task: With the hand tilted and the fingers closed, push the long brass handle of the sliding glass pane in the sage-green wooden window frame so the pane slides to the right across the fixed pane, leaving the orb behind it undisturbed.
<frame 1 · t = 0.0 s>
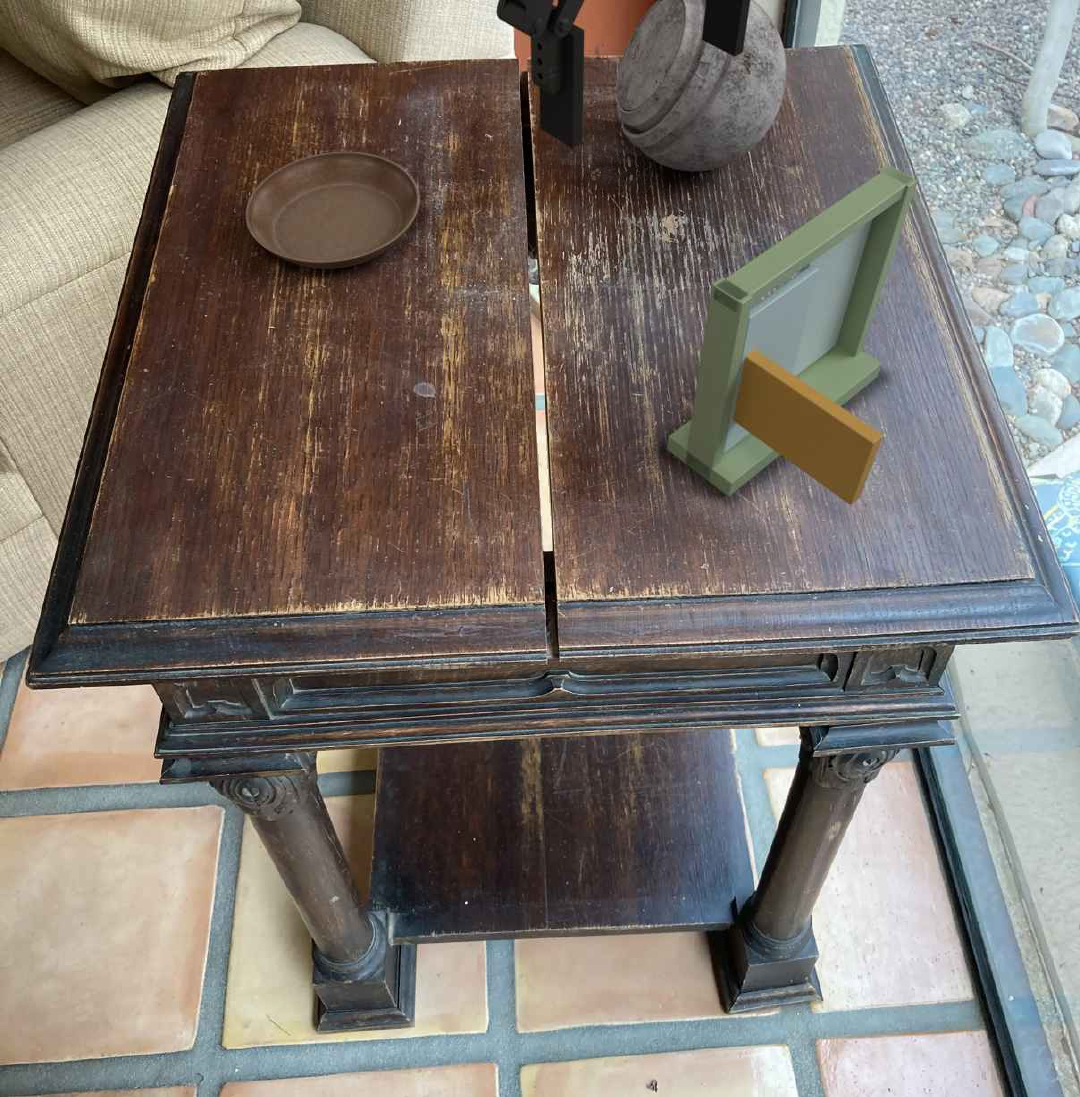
hand: (644, 89, 62), 23 cm above the table, tool pointing down, fingers open, 13 cm apart
saucer: (338, 231, 91), on the table
window frame: (774, 412, 78), on the table
window pane: (824, 404, 68), point 8 cm above the table, slide at 0.0 cm
decorative orb: (691, 157, 97), on the table
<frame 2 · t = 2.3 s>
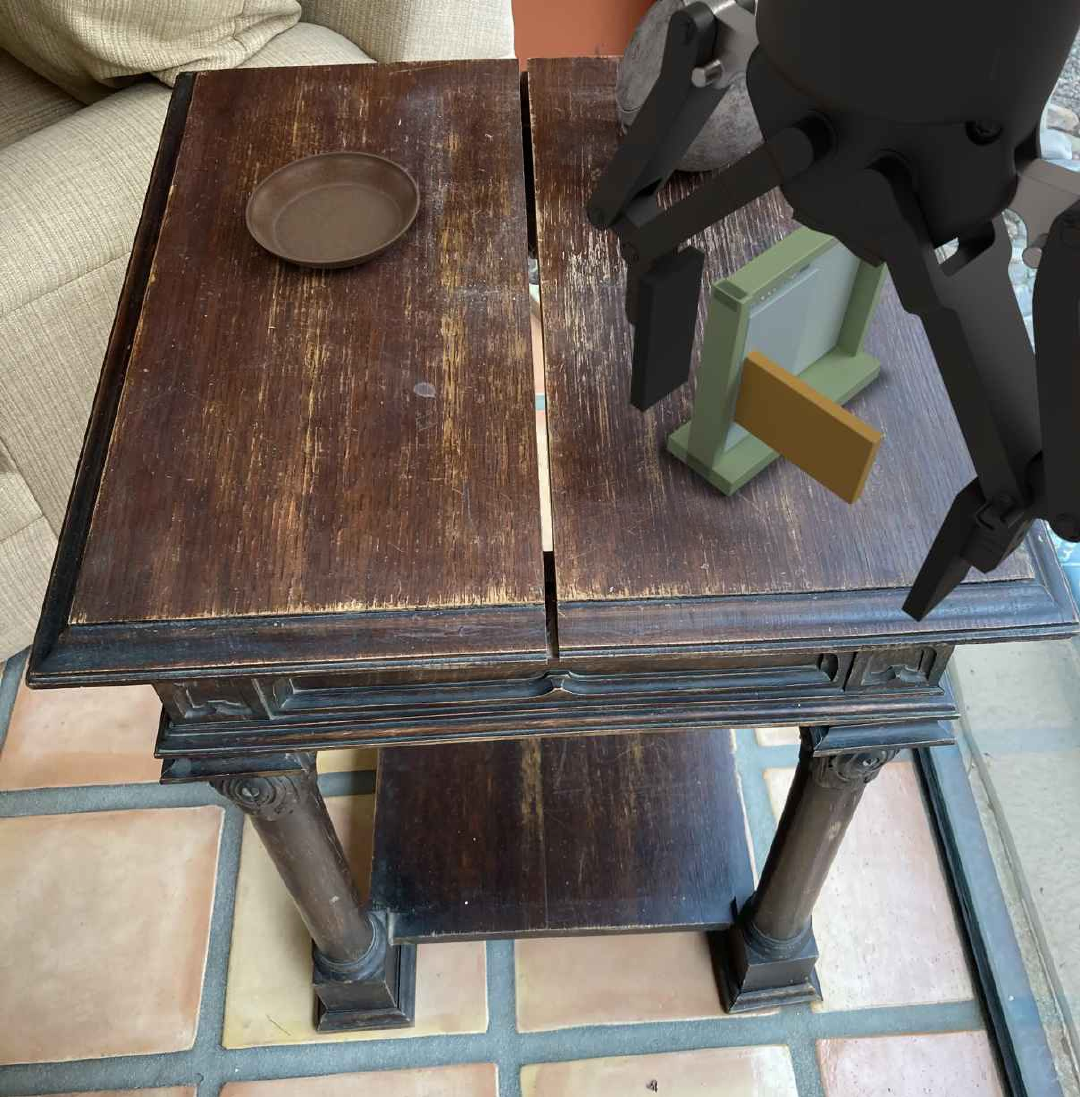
hand: (785, 486, 40), 26 cm above the table, tool pointing down, fingers open, 13 cm apart
nothing on the table moved.
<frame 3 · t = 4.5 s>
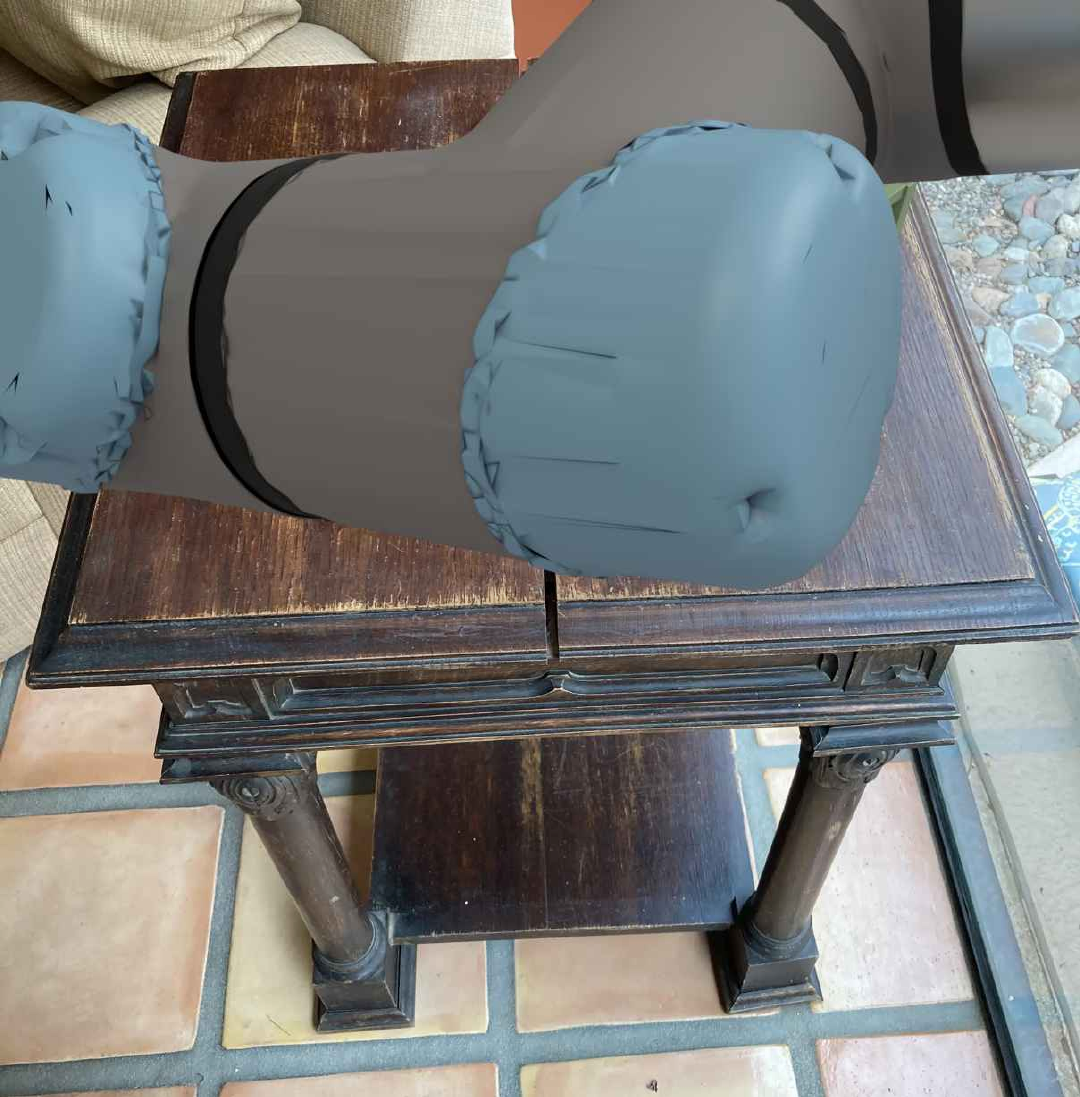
hand: (727, 461, 53), 17 cm above the table, tool tilted 45°, fingers closed
nothing on the table moved.
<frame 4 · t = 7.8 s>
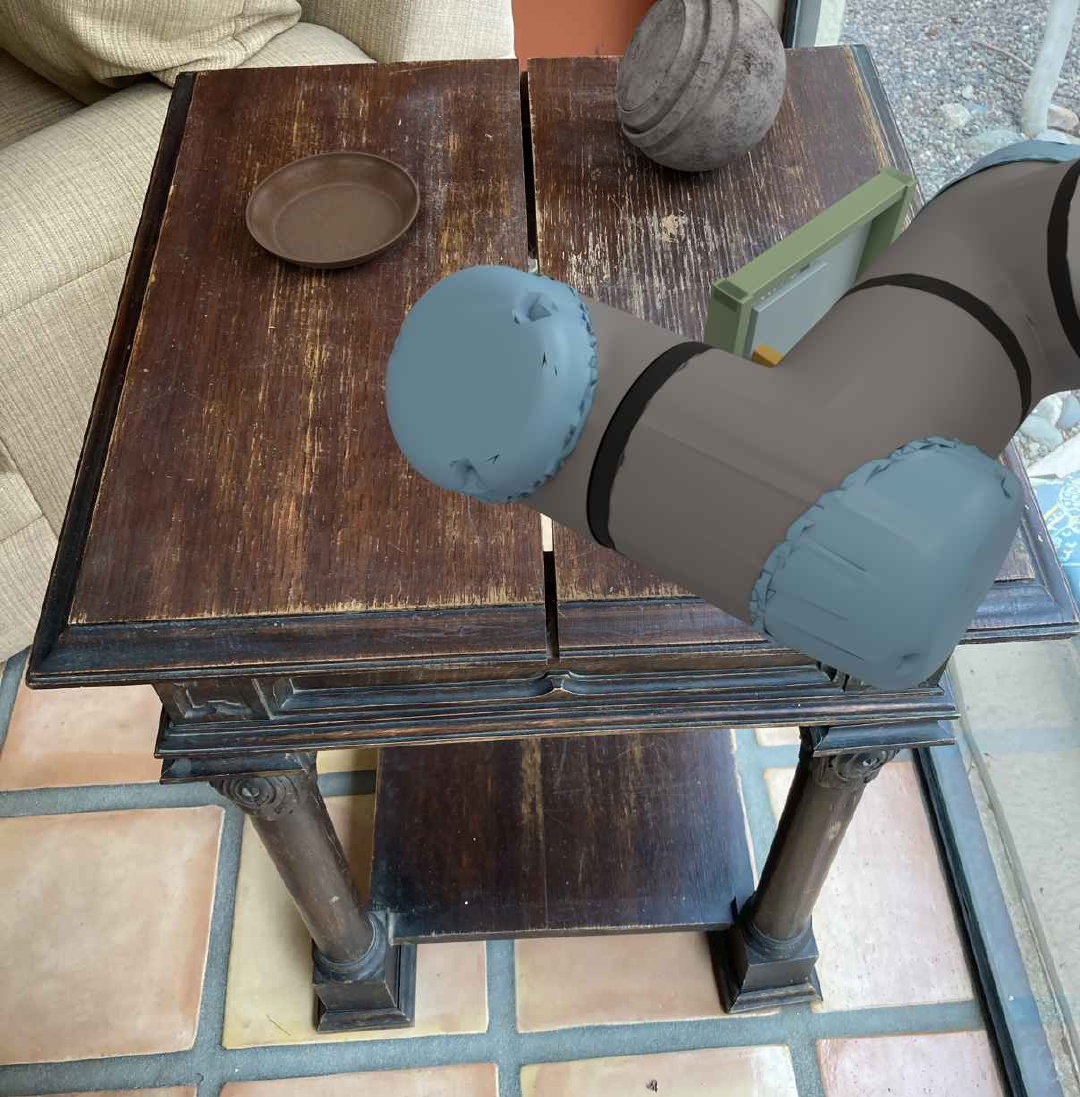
hand: (827, 469, 66), 7 cm above the table, tool tilted 45°, fingers closed
window pane: (832, 398, 68), point 8 cm above the table, slide at 0.8 cm, touching gripper
everything else where it was.
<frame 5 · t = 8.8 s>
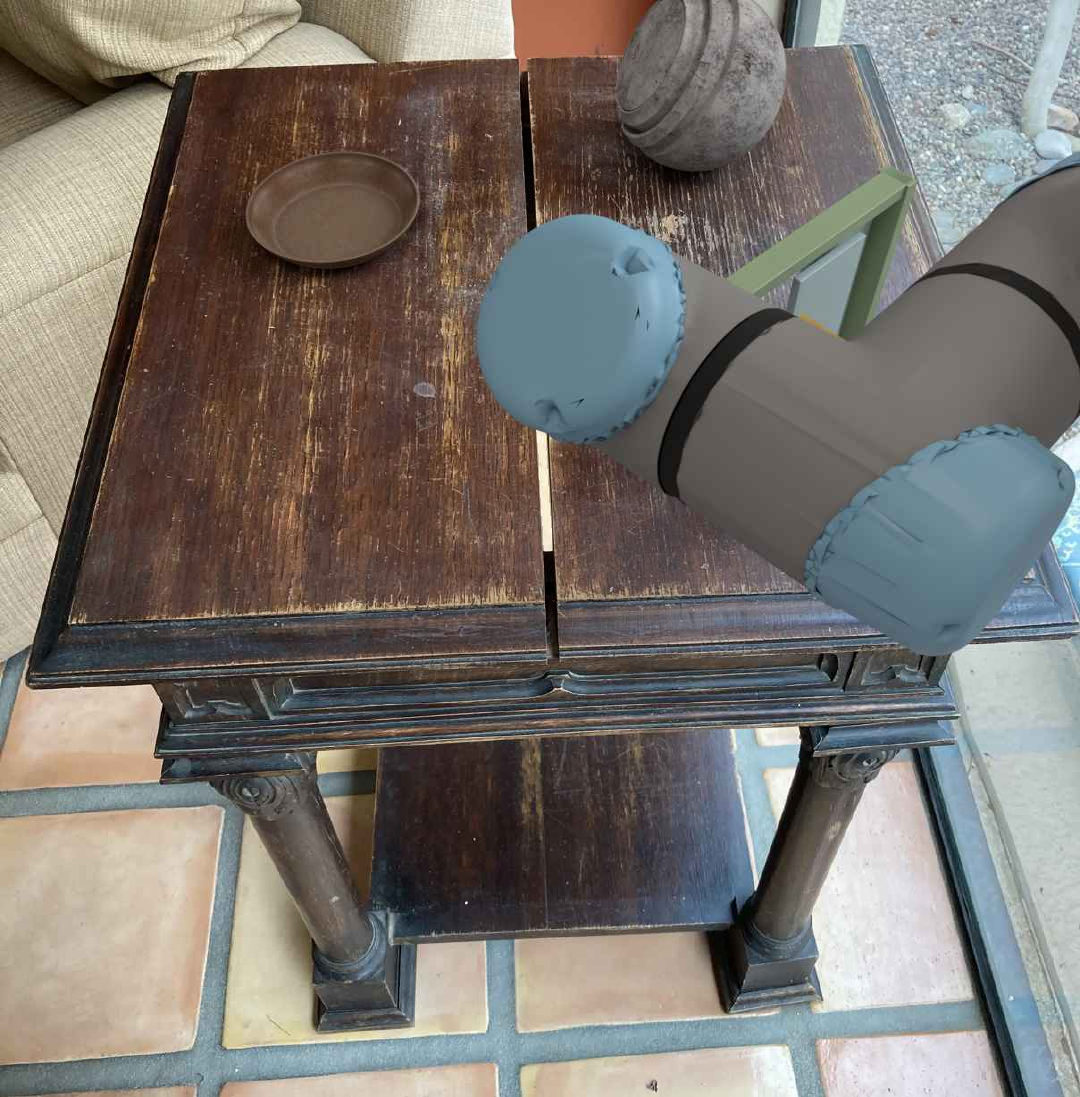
hand: (866, 438, 67), 7 cm above the table, tool tilted 45°, fingers closed
window pane: (870, 368, 69), point 8 cm above the table, slide at 4.8 cm, touching gripper
everything else where it was.
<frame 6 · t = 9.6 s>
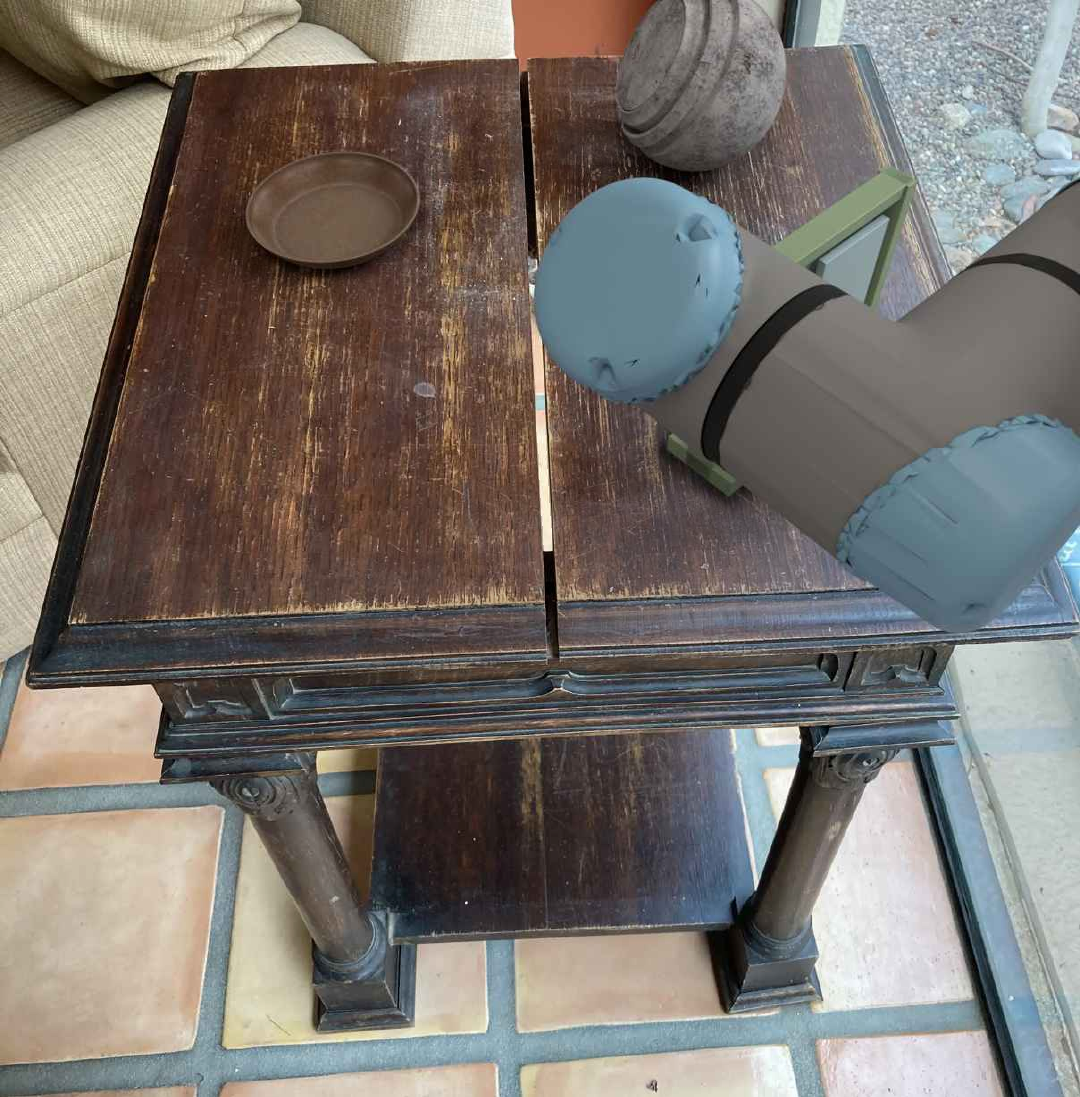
hand: (890, 418, 68), 7 cm above the table, tool tilted 45°, fingers closed
window pane: (893, 350, 70), point 8 cm above the table, slide at 7.2 cm, touching gripper
everything else where it was.
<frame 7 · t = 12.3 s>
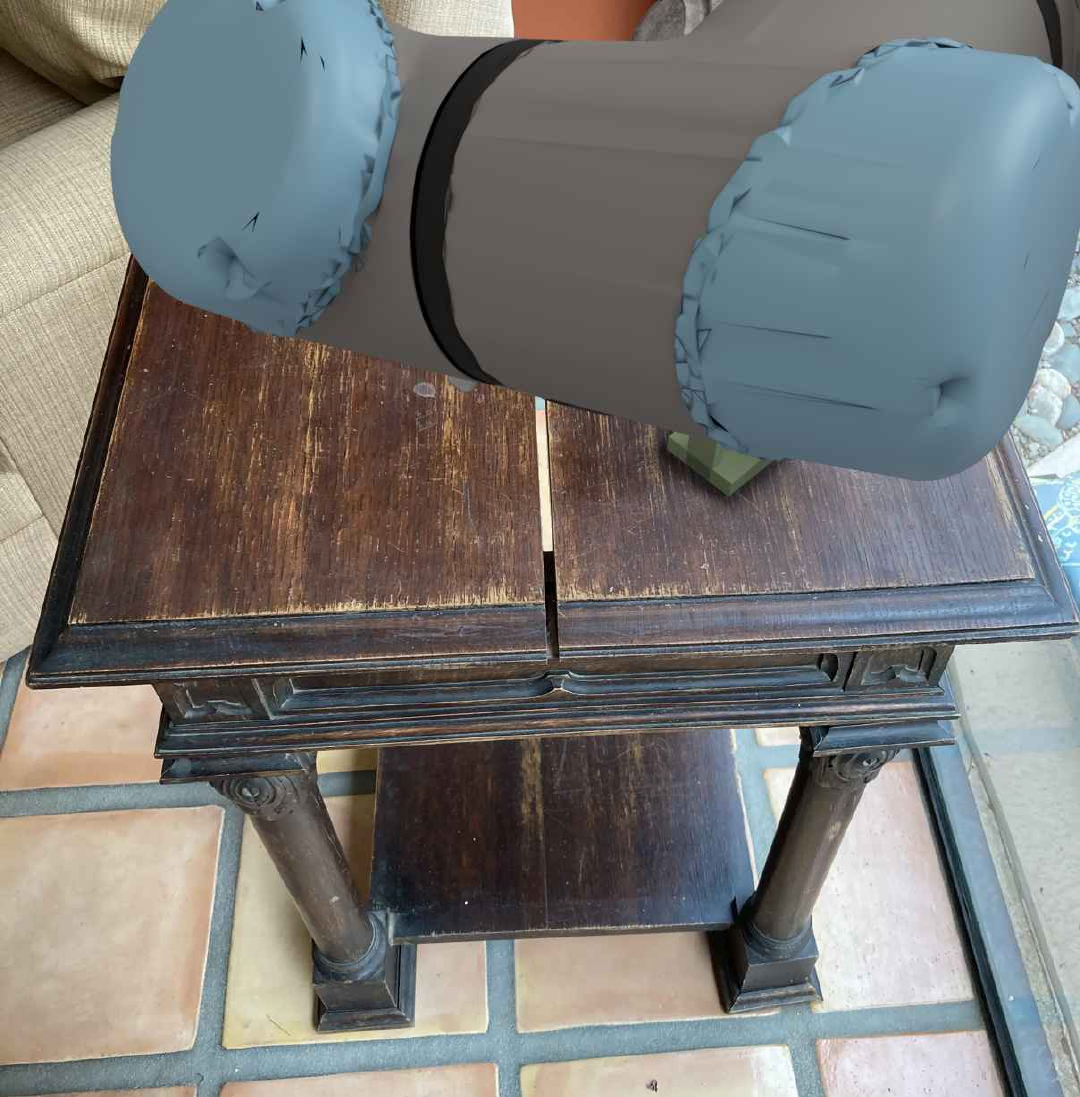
hand: (807, 392, 54), 18 cm above the table, tool tilted 45°, fingers closed
window pane: (890, 351, 70), point 8 cm above the table, slide at 7.0 cm
everything else where it was.
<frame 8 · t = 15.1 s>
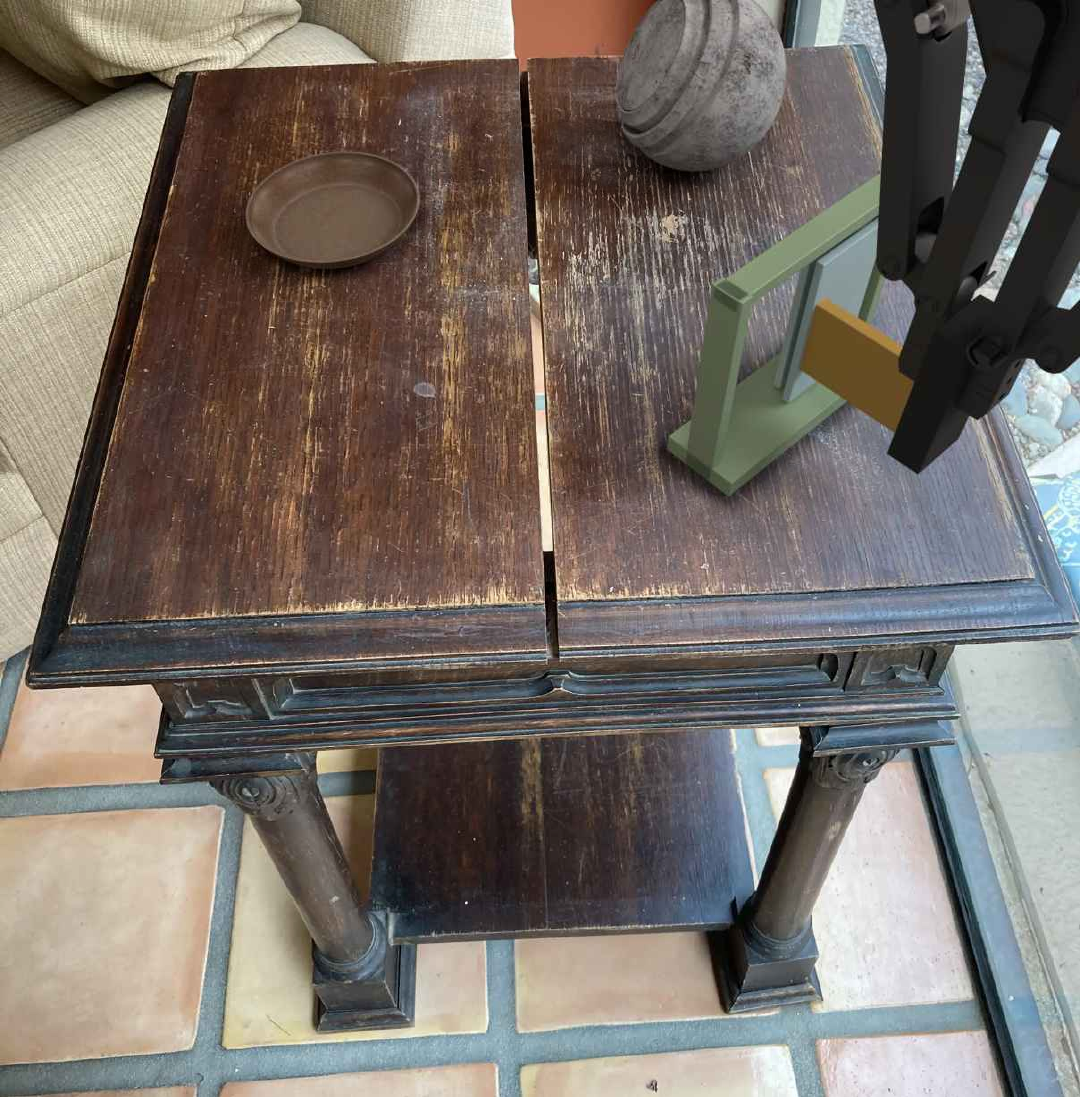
hand: (922, 445, 41), 26 cm above the table, tool pointing down, fingers closed
nothing on the table moved.
at the end: window pane slide at 7.0 cm; decorative orb moved 0.2 cm from its start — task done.
